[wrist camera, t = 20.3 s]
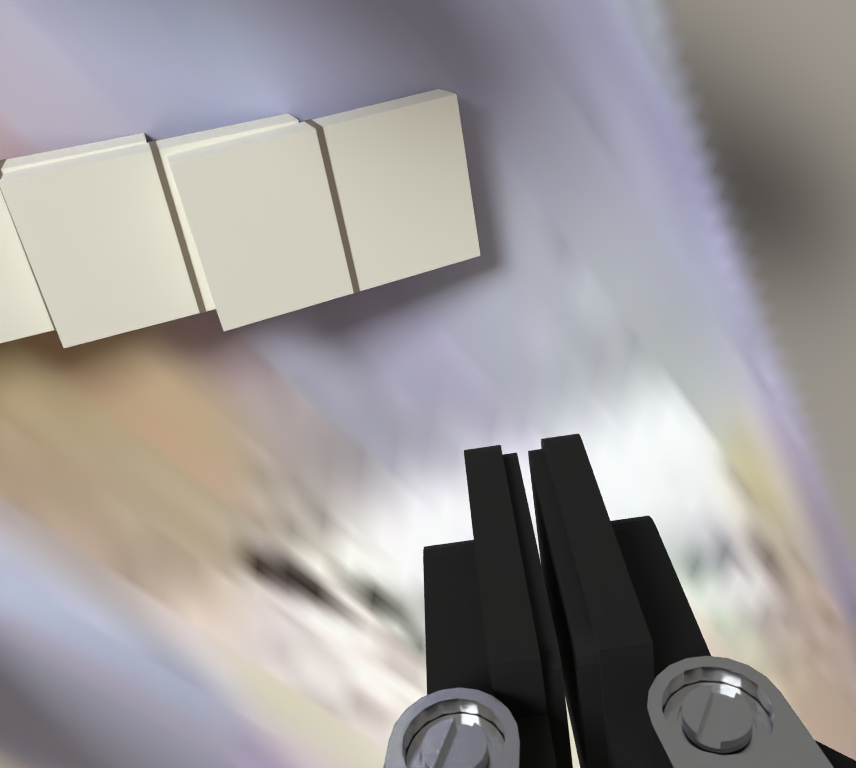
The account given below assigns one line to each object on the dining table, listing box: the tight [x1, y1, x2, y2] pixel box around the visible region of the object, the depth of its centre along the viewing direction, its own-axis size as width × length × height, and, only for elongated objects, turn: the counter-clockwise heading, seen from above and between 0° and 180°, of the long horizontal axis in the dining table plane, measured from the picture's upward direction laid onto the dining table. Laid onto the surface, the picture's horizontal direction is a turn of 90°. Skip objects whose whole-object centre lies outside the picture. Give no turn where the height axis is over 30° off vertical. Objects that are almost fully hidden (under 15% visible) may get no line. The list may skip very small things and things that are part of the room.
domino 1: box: [0, 133, 147, 343], centre depth 30 cm, size 2×6×10 cm
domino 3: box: [167, 89, 480, 331], centre depth 30 cm, size 2×6×10 cm
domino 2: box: [0, 113, 299, 348], centre depth 30 cm, size 2×6×10 cm
